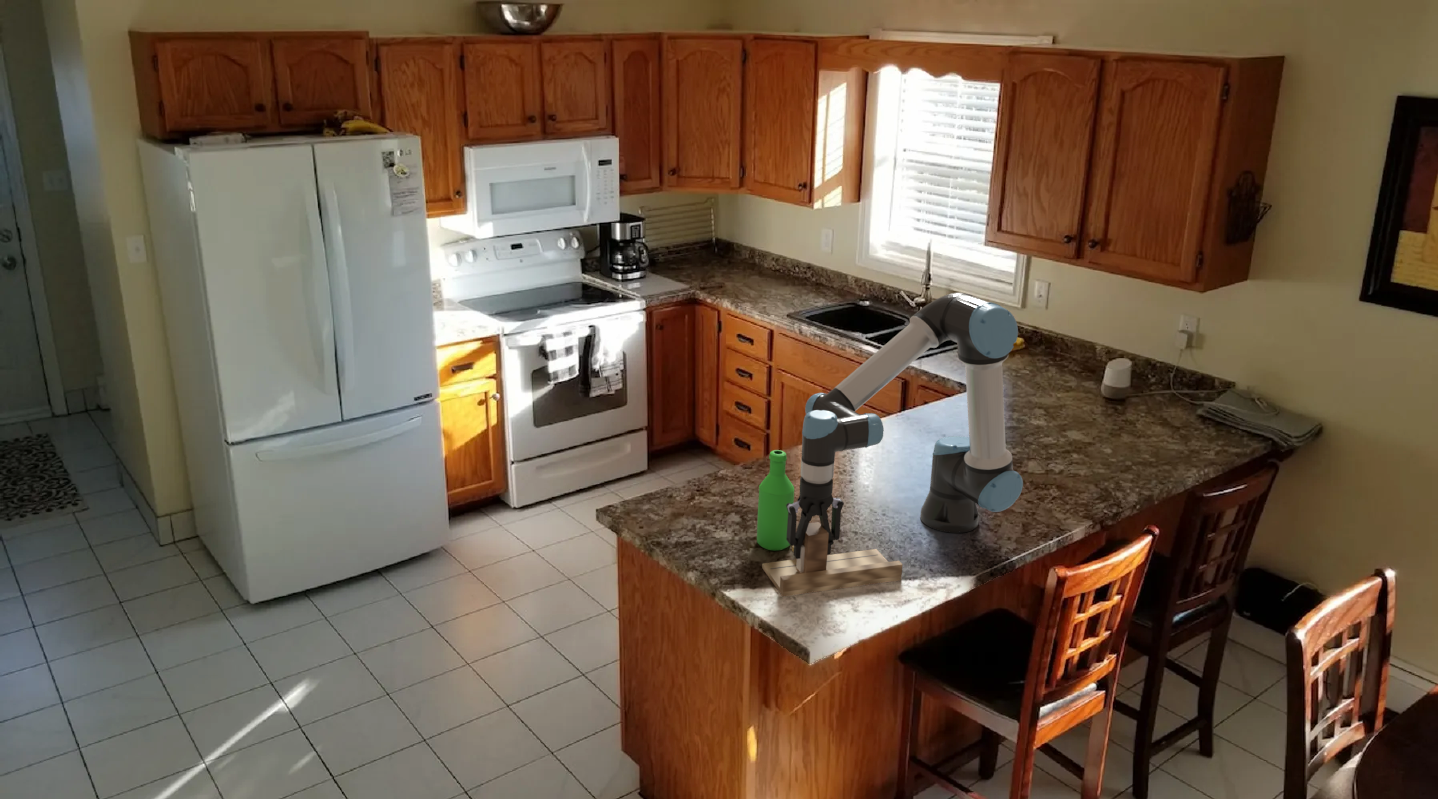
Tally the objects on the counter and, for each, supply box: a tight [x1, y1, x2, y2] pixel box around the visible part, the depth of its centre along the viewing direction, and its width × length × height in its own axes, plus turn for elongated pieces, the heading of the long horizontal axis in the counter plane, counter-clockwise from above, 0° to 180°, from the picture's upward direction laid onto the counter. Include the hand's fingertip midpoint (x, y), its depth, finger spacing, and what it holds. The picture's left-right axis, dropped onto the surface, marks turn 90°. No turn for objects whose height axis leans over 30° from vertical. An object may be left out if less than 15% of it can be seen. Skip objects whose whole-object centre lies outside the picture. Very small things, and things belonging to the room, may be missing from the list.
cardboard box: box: [791, 521, 829, 574], centre depth 255 cm, size 5×14×12 cm, turn 17°
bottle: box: [756, 449, 795, 552], centre depth 267 cm, size 9×9×25 cm
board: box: [761, 548, 903, 597], centre depth 256 cm, size 30×14×4 cm, turn 107°
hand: (811, 567), depth 253 cm, fingers closed on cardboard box, 5 cm apart
